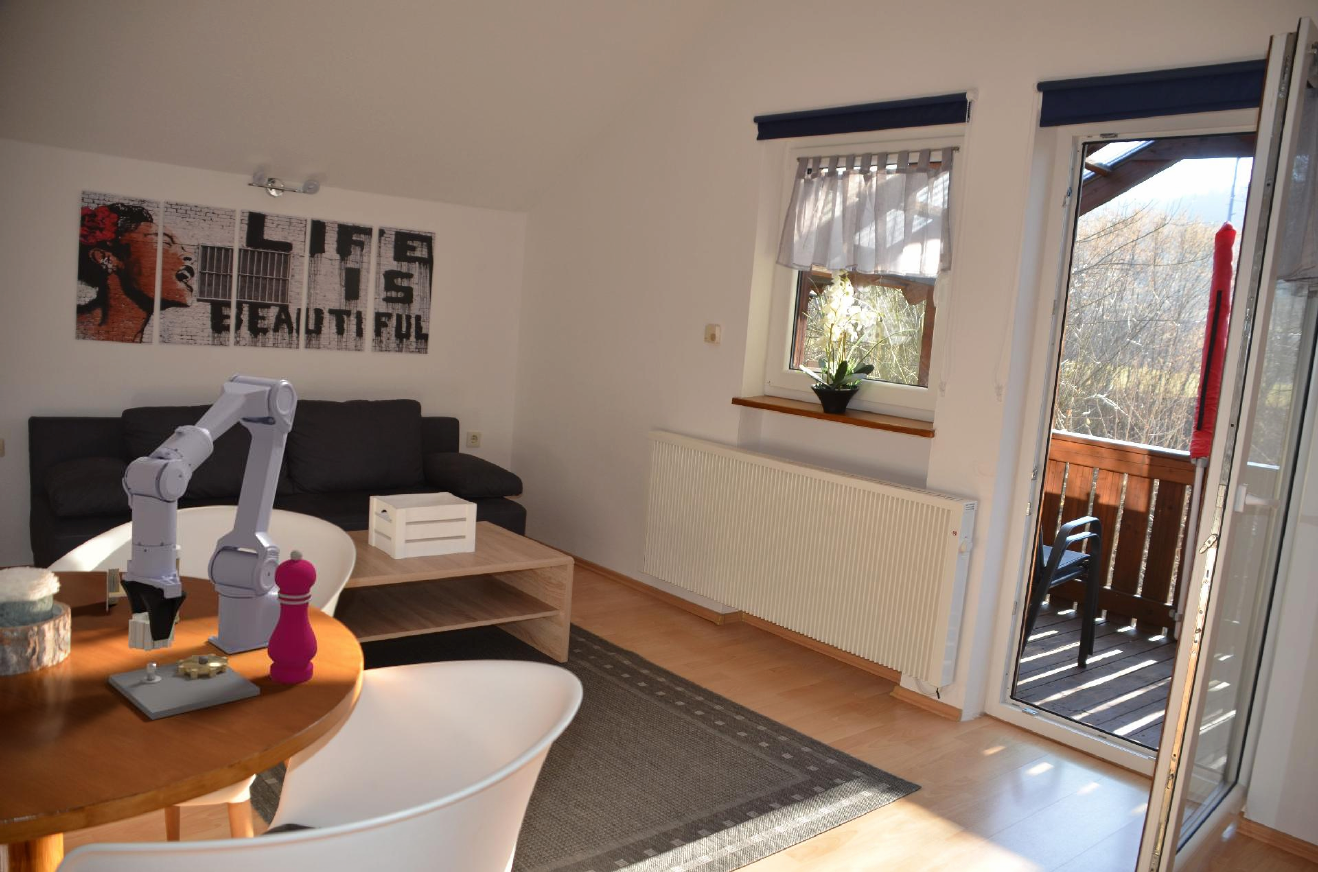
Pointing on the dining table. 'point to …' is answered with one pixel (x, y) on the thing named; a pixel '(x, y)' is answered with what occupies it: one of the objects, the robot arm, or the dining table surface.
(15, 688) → the dining table surface
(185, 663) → the gear board
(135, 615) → the gear
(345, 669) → the dining table surface
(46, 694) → the dining table surface
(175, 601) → the robot arm
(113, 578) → the architectural model
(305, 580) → the pepper mill
